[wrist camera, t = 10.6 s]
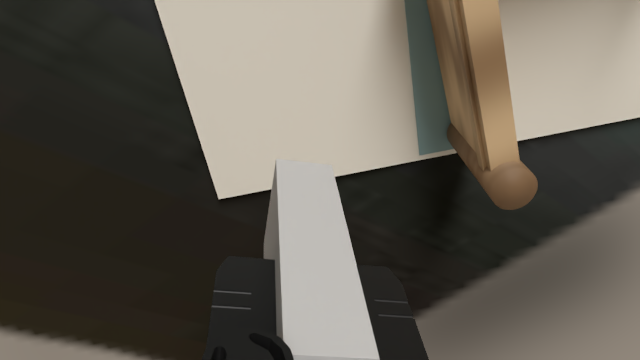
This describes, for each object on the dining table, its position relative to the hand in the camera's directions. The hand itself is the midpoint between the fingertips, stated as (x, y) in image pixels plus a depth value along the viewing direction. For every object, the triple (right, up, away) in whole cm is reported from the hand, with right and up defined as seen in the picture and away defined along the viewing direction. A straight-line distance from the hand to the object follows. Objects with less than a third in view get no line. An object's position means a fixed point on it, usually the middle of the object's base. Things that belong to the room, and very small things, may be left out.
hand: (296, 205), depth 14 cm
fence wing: (+7, +9, +13) cm, 18 cm away
